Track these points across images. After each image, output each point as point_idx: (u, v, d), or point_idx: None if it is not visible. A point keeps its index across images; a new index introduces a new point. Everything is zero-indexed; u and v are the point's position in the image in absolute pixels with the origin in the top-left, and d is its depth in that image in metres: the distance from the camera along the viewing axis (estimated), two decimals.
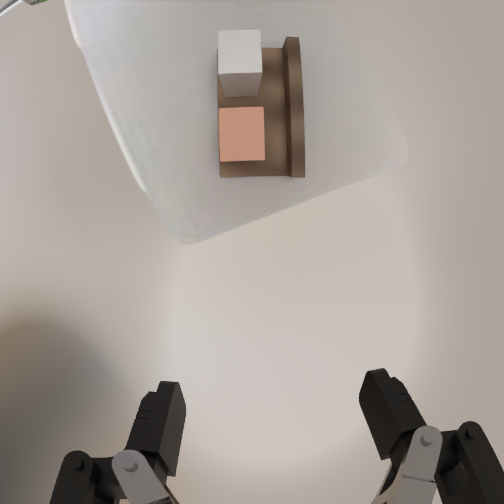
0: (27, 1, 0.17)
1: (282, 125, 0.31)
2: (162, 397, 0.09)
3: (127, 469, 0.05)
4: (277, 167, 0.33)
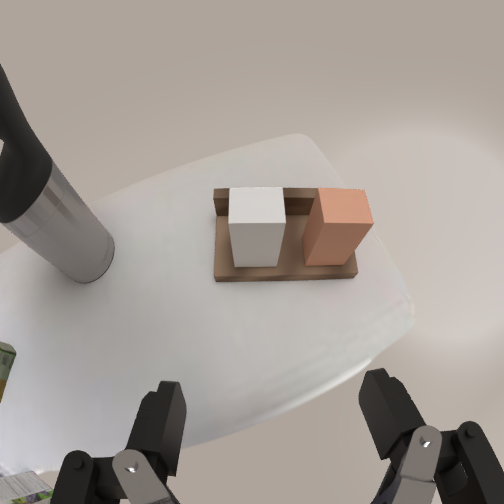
0: None
1: (301, 217, 0.36)
2: (162, 397, 0.09)
3: (128, 469, 0.05)
4: None
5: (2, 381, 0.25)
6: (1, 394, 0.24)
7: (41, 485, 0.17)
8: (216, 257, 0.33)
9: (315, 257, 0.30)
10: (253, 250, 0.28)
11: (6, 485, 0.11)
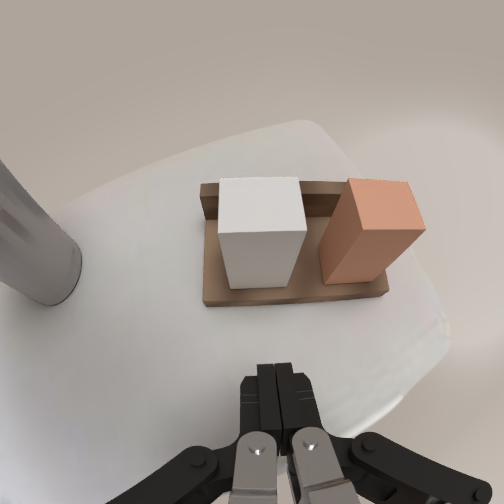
0: None
1: (316, 220, 0.28)
2: (265, 378, 0.10)
3: (258, 452, 0.06)
4: None
5: None
6: None
7: None
8: (205, 275, 0.25)
9: (339, 274, 0.22)
10: (255, 269, 0.20)
11: None
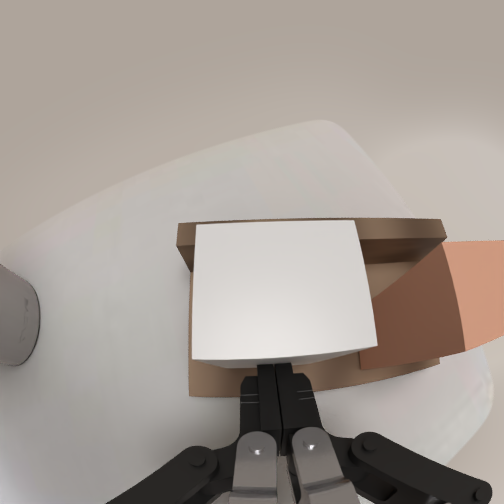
0: None
1: None
2: (265, 378, 0.10)
3: (258, 452, 0.06)
4: None
5: None
6: None
7: None
8: (191, 359, 0.16)
9: None
10: None
11: None
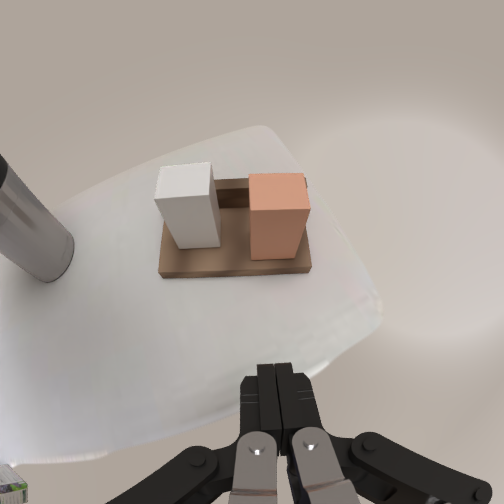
0: (18, 502, 0.12)
1: None
2: (265, 378, 0.10)
3: (258, 452, 0.06)
4: None
5: None
6: None
7: (14, 477, 0.15)
8: (161, 253, 0.32)
9: (258, 250, 0.29)
10: (189, 229, 0.28)
11: None
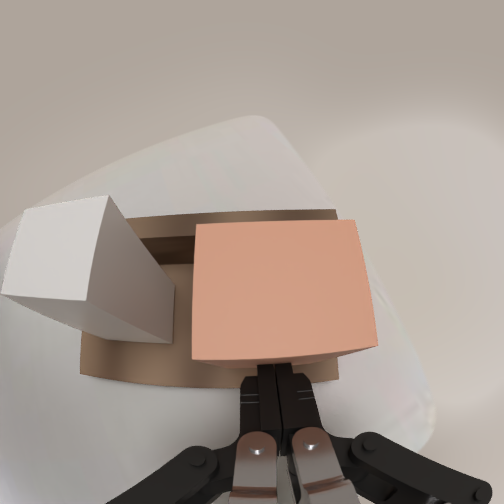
0: None
1: None
2: (265, 378, 0.10)
3: (258, 452, 0.06)
4: None
5: None
6: None
7: None
8: (83, 342, 0.16)
9: None
10: (100, 329, 0.12)
11: None
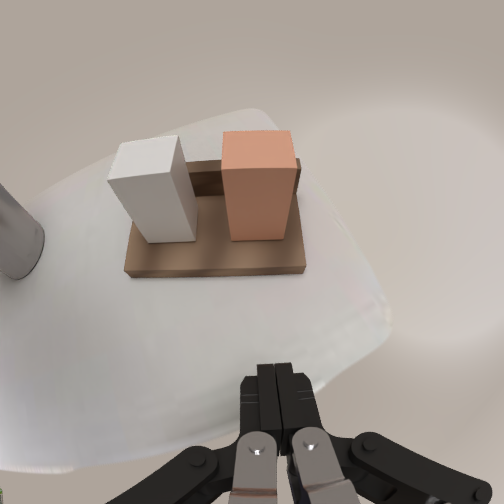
0: None
1: None
2: (265, 378, 0.10)
3: (258, 452, 0.06)
4: None
5: None
6: None
7: None
8: (129, 248, 0.26)
9: (238, 227, 0.24)
10: (154, 218, 0.22)
11: None
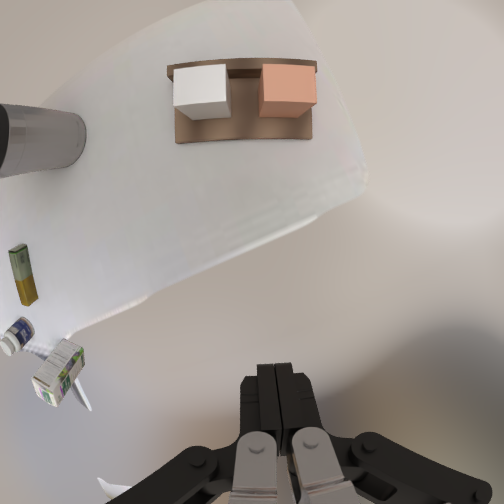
0: (79, 369, 0.45)
1: None
2: (265, 378, 0.10)
3: (258, 452, 0.06)
4: None
5: (30, 278, 0.40)
6: (35, 289, 0.41)
7: (72, 348, 0.44)
8: (176, 125, 0.32)
9: (266, 114, 0.29)
10: (204, 113, 0.27)
11: (50, 365, 0.37)
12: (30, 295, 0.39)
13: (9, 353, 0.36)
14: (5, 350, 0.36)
